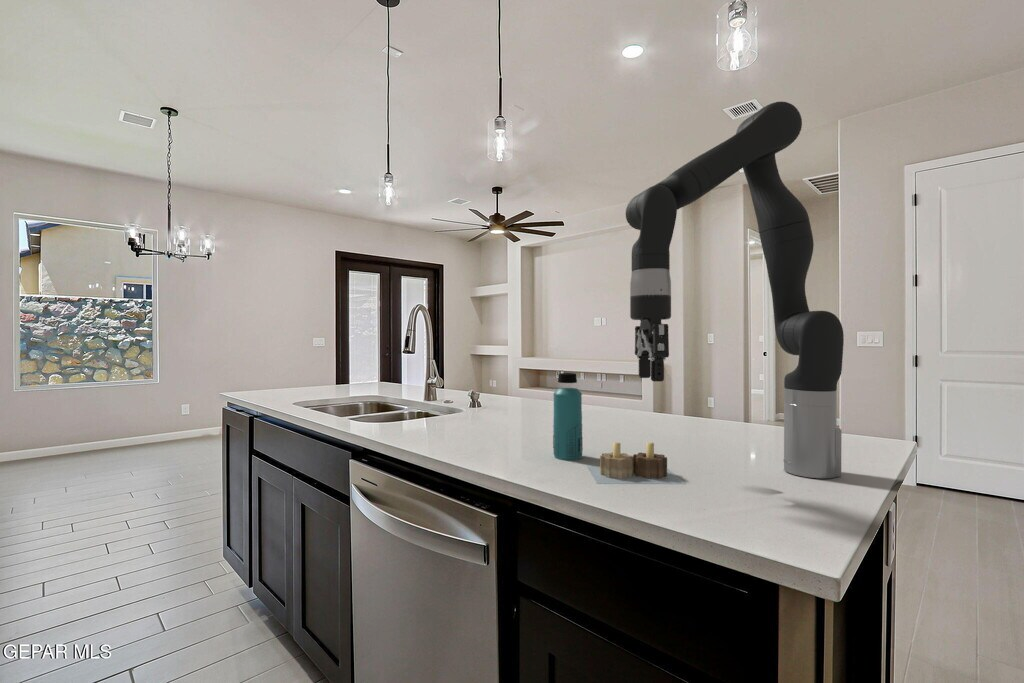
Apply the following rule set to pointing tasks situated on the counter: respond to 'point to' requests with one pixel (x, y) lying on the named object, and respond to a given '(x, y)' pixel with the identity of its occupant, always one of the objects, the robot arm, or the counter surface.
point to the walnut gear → (650, 466)
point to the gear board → (634, 479)
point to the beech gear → (616, 466)
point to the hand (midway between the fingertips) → (650, 379)
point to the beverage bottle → (567, 420)
